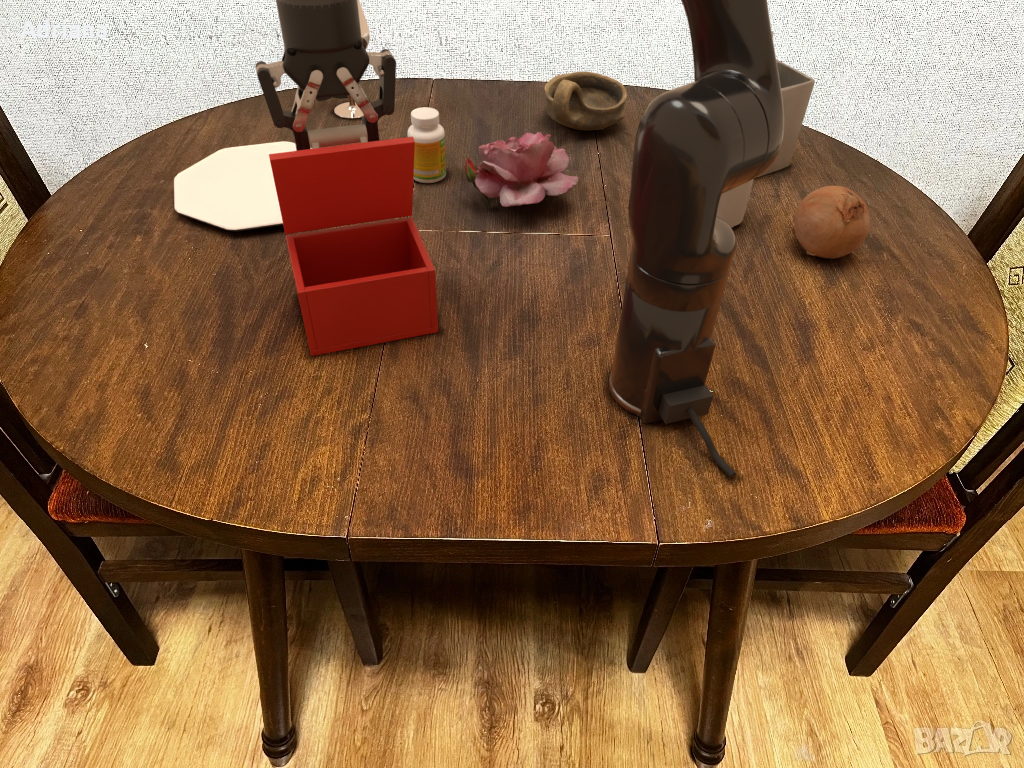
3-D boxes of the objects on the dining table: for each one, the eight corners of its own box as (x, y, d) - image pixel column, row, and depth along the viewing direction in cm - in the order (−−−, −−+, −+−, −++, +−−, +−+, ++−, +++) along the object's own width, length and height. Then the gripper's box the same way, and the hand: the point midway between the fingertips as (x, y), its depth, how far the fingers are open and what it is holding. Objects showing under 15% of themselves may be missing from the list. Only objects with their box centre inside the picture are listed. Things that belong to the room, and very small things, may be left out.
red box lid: (415, 142, 79) (404, 107, 81) (269, 160, 75) (262, 123, 77) (412, 215, 90) (403, 184, 91) (285, 234, 86) (278, 201, 88)
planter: (788, 190, 114) (829, 59, 101) (735, 182, 116) (768, 51, 102) (790, 142, 126) (826, 19, 113) (741, 135, 127) (771, 13, 114)
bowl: (637, 118, 131) (645, 59, 124) (592, 159, 120) (598, 97, 113) (566, 99, 136) (570, 41, 129) (516, 137, 125) (518, 76, 118)
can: (742, 236, 105) (764, 155, 97) (687, 229, 106) (705, 148, 98) (741, 208, 110) (762, 129, 102) (689, 202, 111) (706, 123, 103)
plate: (176, 162, 116) (173, 153, 115) (333, 144, 121) (331, 135, 120) (177, 247, 99) (174, 237, 98) (359, 221, 105) (357, 211, 104)
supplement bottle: (448, 183, 113) (445, 120, 107) (411, 185, 113) (407, 122, 106) (444, 165, 117) (442, 104, 111) (409, 167, 116) (404, 105, 110)
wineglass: (355, 125, 126) (341, 10, 114) (318, 113, 129) (300, -1, 117) (387, 108, 131) (376, -4, 119) (351, 96, 134) (337, -14, 122)
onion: (837, 281, 103) (886, 242, 94) (774, 257, 102) (816, 215, 93) (844, 226, 107) (891, 183, 98) (783, 202, 106) (825, 157, 97)
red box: (438, 332, 89) (435, 269, 82) (310, 356, 85) (297, 292, 79) (416, 277, 96) (411, 216, 90) (298, 297, 93) (285, 235, 86)
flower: (600, 189, 107) (586, 120, 102) (519, 235, 102) (500, 165, 96) (537, 175, 118) (521, 112, 113) (461, 216, 113) (440, 152, 107)
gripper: (238, 8, 67) (276, 182, 79) (399, -5, 71) (412, 163, 82) (233, -16, 72) (268, 150, 84) (383, -28, 76) (397, 133, 87)
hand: (340, 156), depth 83 cm, fingers closed on red box lid, 6 cm apart
